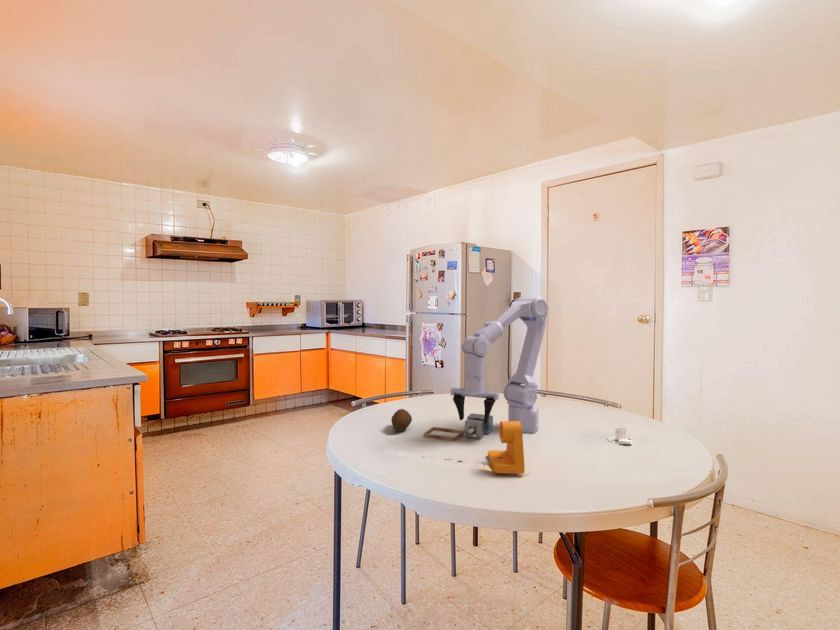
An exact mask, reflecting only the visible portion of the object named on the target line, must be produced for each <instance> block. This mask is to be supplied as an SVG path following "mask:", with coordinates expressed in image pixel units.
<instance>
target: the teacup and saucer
mask: <svg viewBox="0 0 840 630" xmlns="http://www.w3.org/2000/svg"><path fill="white" fill-rule="evenodd" d="M614 434H615V435H614V436H615V437H616V438H615V440H616V441H617V440H618V441H617V443H618V444H617V445H623V444H631V445H634V444H635V443H632V441H631V440H628V439H625V437H626V438H627V428H624V427H615V428H614ZM616 441H613V442H612V443H613V444H616V443H615V442H616Z"/></svg>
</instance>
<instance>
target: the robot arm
mask: <svg viewBox="0 0 840 630" xmlns="http://www.w3.org/2000/svg"><path fill="white" fill-rule="evenodd" d="M549 309H550V307H549V305H548V303H547V301H546V300H545V298H543V297H542V296H538V297H523V296H522V297H521V296H520V297H517V298H516V299H515V300H513V301H512V302H511V305H510V306H509V307H508V309H506V310H505V311H504V312H503V314H501V315H500V316H499V317H498V318H497V319H496V320H495V321H493V320H490V321H486V322H485V323H484V326H483V327H481V328H480V329H478V330H477V331H475V332H474V334H473V335H469V336H467V337H465V339H464V340H463V342H462V344H461V346H460V347H461V350H462V352H463V355H464V360H465V365H464V366H465V369H464V375H465V376H464V388H459V387H452V388H450V396H453V397H452V401H453V403H454V405H455V407H456V411H457V413H458V418H459V421H463V420H464V419H465V401H466V400H465V398H466V397H471V398H477V399H478V398H479V399H484V400H483V406H484V408H483V409H484V415H485V416H484V423H488V420H489V415H491V412H492V409H493V406H494V404H495V403H496V401H498V400H499V399H500V392H499V391H491V390H487V389H486V390H485V358H486V357H485V356H486V355H487V354H488V352H489V351H490V347H491V346H492V345H493V344H494V343H495V342H496V341H497V340H498V339H500V338H501V337H502V336H503V332H504V331H503V330H505V329H506V328H507V327H509V326H510V325H511V324H512V323H514V322H515V321H516V320H518V319H520V320H521V321H522V323H524V325H525V326H526V327H527V328H526V332H525V333H526V334H525V337H524V340H523V345H522V348H521V352H520V356H519V360H518V363H517V368H516V372H515V373H514V374H513V375H512V376H511V377H509V378H508V382H507V384H506V385H505V386H504V389H503V397H504V399H505V400H506V404H508V410H507V411H508V413H507V417H508V419H507V421H520V423H521V426H522V433H527V434H529V433H530V434H537V432H538V431H539V407H536V406H534V405H535V403H536V402H537V398H538V392H537V391H538V384H537V382H536V381H535V379H534V374H535V371H536V366H537V363H538V362H537V361H538V359H539V354H540V350H541V347H542V346H541V345H542V342H543V337H544V334H545V330H546V324H547V323H546V322H547V321H546V320H547V316H548V312H549Z"/></svg>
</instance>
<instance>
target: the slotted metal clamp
mask: <svg viewBox="0 0 840 630" xmlns="http://www.w3.org/2000/svg"><path fill="white" fill-rule="evenodd" d="M471 427H476V433H475V435H476V437H475V438H476V440H482V439H483V437H484V434H483V421H477V420H469V419H467V418H466V420H464V438H467V439H469V438H471V437H472V433H471V434H469V433H468V430H469V429H470V428H471Z"/></svg>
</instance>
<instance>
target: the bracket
mask: <svg viewBox="0 0 840 630" xmlns="http://www.w3.org/2000/svg"><path fill="white" fill-rule="evenodd" d="M498 428H499V429H498V430H499V440H500V442H501V444H506V448H505V449H506V450H488V451H487V458H488V460H489V463H490V464H489V468H490V469H491V472H492V473H496V474H525V455H524V454H525V453H524V439H523V432H522V426H521V423H520V421H508V420H500V422H499V427H498Z"/></svg>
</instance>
